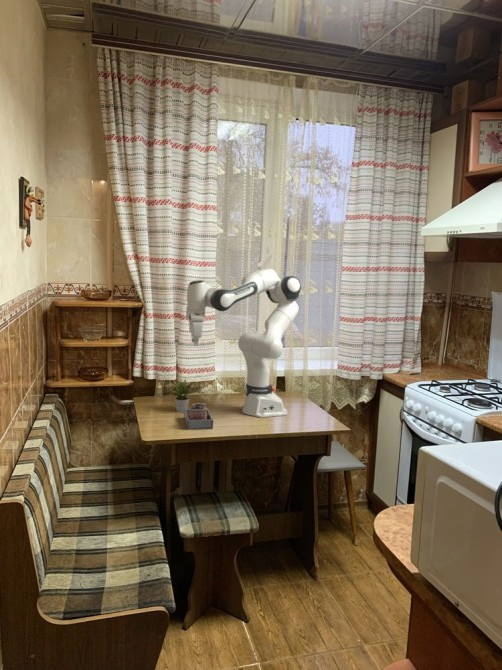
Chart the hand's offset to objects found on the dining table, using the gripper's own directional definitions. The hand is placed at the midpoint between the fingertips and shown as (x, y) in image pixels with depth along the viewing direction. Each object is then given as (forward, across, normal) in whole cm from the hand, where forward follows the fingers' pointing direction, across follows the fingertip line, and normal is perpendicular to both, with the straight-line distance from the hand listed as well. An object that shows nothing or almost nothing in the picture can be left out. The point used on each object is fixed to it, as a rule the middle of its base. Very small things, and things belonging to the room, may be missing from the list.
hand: (194, 344), depth 248 cm
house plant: (+34, -3, -4) cm, 35 cm away
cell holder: (+34, +15, +1) cm, 37 cm away
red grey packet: (+34, +19, 0) cm, 38 cm away
